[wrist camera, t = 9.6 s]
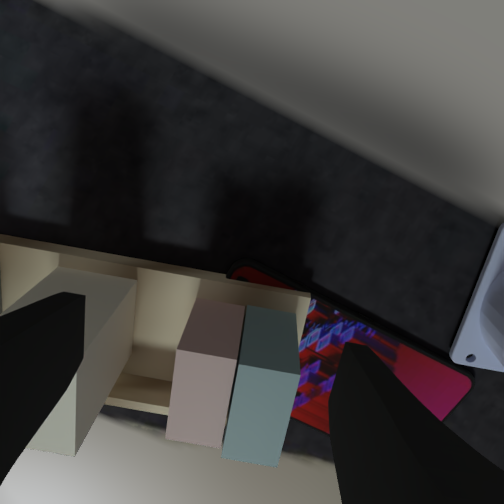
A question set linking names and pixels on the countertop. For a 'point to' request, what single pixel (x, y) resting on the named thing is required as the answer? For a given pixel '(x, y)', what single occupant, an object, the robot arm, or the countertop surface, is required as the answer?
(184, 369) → the shelved books
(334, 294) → the countertop surface
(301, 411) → the smartphone
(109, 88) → the countertop surface
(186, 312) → the shelf board
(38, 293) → the book
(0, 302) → the bookend
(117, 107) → the countertop surface
